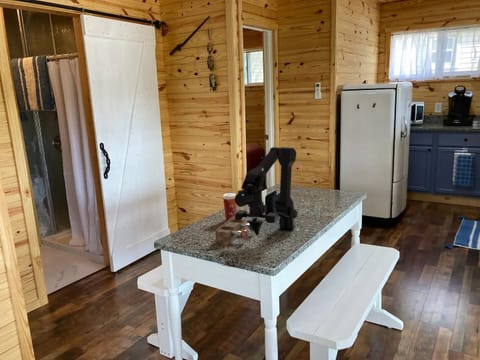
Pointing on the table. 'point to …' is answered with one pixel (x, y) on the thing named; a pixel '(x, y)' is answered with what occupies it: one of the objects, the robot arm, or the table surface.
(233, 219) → the mount
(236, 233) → the brick knob
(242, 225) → the charcoal knob
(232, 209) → the paper cup
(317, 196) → the table surface
